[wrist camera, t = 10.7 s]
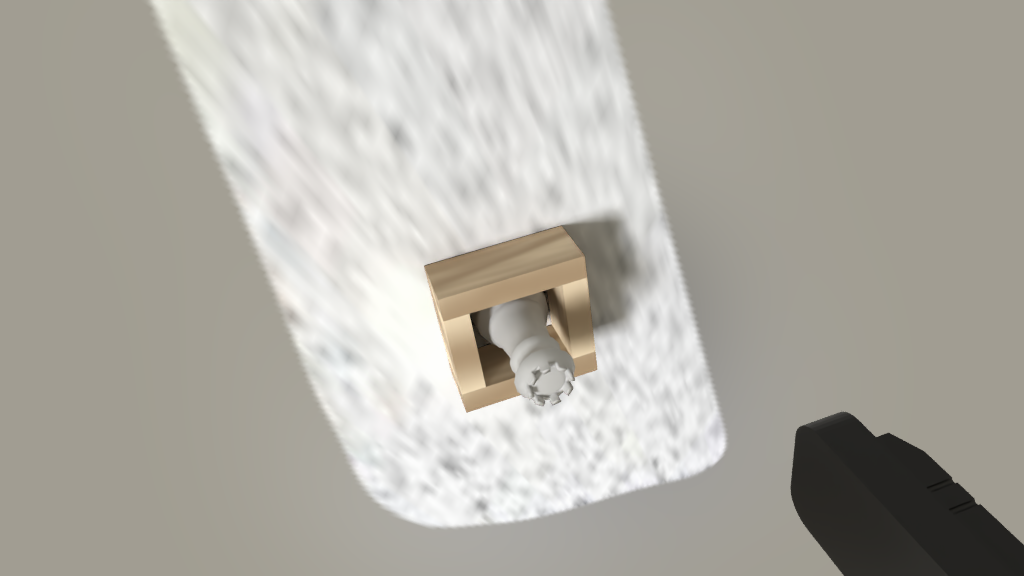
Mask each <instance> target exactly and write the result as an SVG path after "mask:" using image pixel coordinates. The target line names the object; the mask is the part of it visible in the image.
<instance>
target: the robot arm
mask: <svg viewBox="0 0 1024 576" xmlns="http://www.w3.org/2000/svg"><path fill="white" fill-rule="evenodd" d="M791 496H792V500H793V503H794V506H795V509H796V511H797V513H798V515H799V517H800V519H801V521H802V522H803V524H804V525H805V527H806V528H807V529H808V530H809V532H810V533H811V534H812V535H813V537H814V538H815V539H816V541H817V542H818V543H819V544H820V546H821V547H822V548H823V550H824V551H825V552H826V553H827V554H828V556H829V557H830V558H831V560H832V561H833V562H834V564H835V565H836V566H837V567H838V569H839V570H840V571H841V572H842V574H843V575H844V576H1024V545H1023V544H1022V543H1021V542H1020V541H1019V540H1018V539H1017V538H1016V537H1015V536H1014V535H1013V534H1011V533H1010V532H1009V531H1008V530H1007V529H1006V528H1005V527H1004V526H1003V525H1002V524H1001V523H1000V522H999V521H998V520H997V519H996V518H994V517H993V516H992V515H991V514H990V513H989V512H988V511H987V510H986V509H985V508H984V507H983V506H982V505H977V504H976V503H975V500H974V498H973V497H972V496H971V495H970V494H969V493H968V492H967V491H966V490H965V489H964V488H963V487H962V486H960V485H959V484H958V483H954V482H953V480H952V477H951V476H950V475H949V474H948V473H947V472H946V471H945V470H943V469H942V468H941V467H940V466H939V465H938V464H937V463H936V462H935V461H934V460H933V459H932V458H931V457H930V456H929V455H927V454H926V453H925V452H924V451H923V450H921V449H919V448H917V447H915V446H913V445H911V444H909V443H907V442H905V441H903V440H902V439H899V438H898V437H896V436H894V435H892V434H890V433H887V434H884V435H881V436H879V437H875V436H874V435H873V434H872V433H871V432H870V431H869V430H868V429H867V428H866V427H865V426H864V425H863V424H862V423H861V422H860V421H859V420H858V419H857V418H855V417H854V416H853V415H851V414H849V413H847V412H840V413H837V414H834V415H831V416H828V417H825V418H823V419H820V420H817V421H814V422H811V423H809V424H806V425H803V426H801V427H799V428H798V429H797V431H796V437H795V448H794V458H793V468H792V478H791Z"/></svg>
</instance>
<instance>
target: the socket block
mask: <svg viewBox="0 0 1024 576" xmlns="http://www.w3.org/2000/svg"><path fill="white" fill-rule="evenodd" d="M424 267H425V271H426V275H427V279H428V283H429V287H430V291H431V294H432V298H433V302H434V306H435V310H436V314H437V317H438V321H439V325H440V329H441V333H442V337H443V341H444V344H445V348H446V352H447V356H448V360H449V364H450V368H451V371H452V375H453V378H454V380H455V383H456V386H457V388H458V391H459V394H460V396H461V399H462V402H463V404H464V407H465V409H466V412H470V411H473V410H476V409H479V408H482V407H485V406H488V405H491V404H494V403H497V402H501V401H504V400H507V399H510V398H513V397H516V396H519V395H521V394H520V393H519V392H517V389H516V386H515V383H514V381H515V373H514V372H513V371H512V369H511V366H510V357H509V356H508V354H507V353H506V352H505V351H504V349H503V348H499V347H498V346H496V345H493V344H489V345H486V346H483V347H480V348H477V345H476V341H475V336H474V332H473V328H472V323H471V319H470V315H469V314H470V313H473V312H477V311H480V310H483V309H486V308H490V307H493V306H496V305H499V304H503V303H506V302H509V301H512V300H516V299H519V298H522V297H525V296H529V295H532V294H535V293H539V292H542V291H545V290H547V295H548V302H549V309H550V315H551V322H552V325H550V326H547V330H548V333H549V335H550V337H552V338H554V339H555V340H556V341H557V342H558V343H559V346H560V349H561V350H563V351H566V352H567V353H568V354H569V355H570V356H571V357H572V358H573V361H574V364H575V371H574V377H577V376H580V375H583V374H586V373H589V372H592V371H595V370H597V362H596V353H595V344H594V335H593V326H592V317H591V308H590V299H589V290H588V281H587V272H586V263H585V256H584V254H583V253H582V252H581V250H580V249H579V248H578V246H577V245H576V244H575V243H574V241H573V240H572V239H571V237H570V236H569V235H568V234H567V232H566V231H565V230H564V228H563V227H562V226H559V227H555V228H552V229H549V230H545V231H542V232H538V233H535V234H532V235H528V236H525V237H521V238H518V239H515V240H511V241H508V242H504V243H501V244H497V245H494V246H491V247H487V248H484V249H480V250H477V251H474V252H470V253H467V254H463V255H460V256H456V257H453V258H450V259H446V260H443V261H439V262H436V263H433V264H429V265H426V266H424Z"/></svg>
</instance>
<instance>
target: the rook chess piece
mask: <svg viewBox="0 0 1024 576" xmlns="http://www.w3.org/2000/svg"><path fill="white" fill-rule="evenodd" d="M548 310H549V309H548V303H547V300H546V297H545V294H544V293H543V291H542V292H539V293H535V294H532V295H529V296H525V297H522V298H519V299H516V300H512V301H509V302H506V303H503V304H499V305H496V306H493V307H490V308H486V309H483V310H480V311H477V312H473V313H470V315H471V318H472V320H473V323H474V326H475V327H477V328H478V331H479V334H480V335H482V336H483V337H484V338H485V339H486V340H487V341H488V342H490V343H491V344H493V345H496V346H498V347H499V348H503V349H504V351H505V352H506V353H507V354H508V356H509V357H510V366H511V369H512V371H513V372H514V373H515V381H514V383H515V386H516V389H517V392H519V393H520V394H521V395H522V396H523V397H525V398H528V399H532V400H533V401H534V403H535V404H536V405H540V406H544V404H545V401H544V400H550V402H551V404H552V405H555V404H557V403H559V402H561V400H560V398H559V395H560V394H561V393H562V392H564V393H565V394H567V395H569V394H570V393H571V391H572V390H573V386H572V384H571V383H570V382H571V381H575V378H574V371H575V364H574V361H573V358H572V357H571V356H570V355H569V354H568V353H567V352H566V351H563V350H561V349H560V346H559V343H558V342H557V341H556V340H555V339H554V338H552V337H550V335H549V333H548V330H547V327H546V323H547V316H548Z"/></svg>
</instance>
